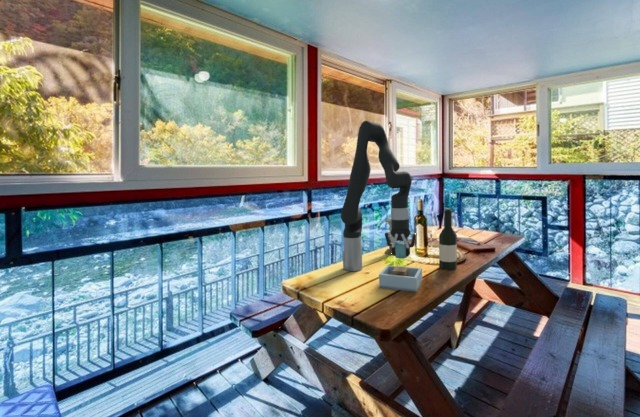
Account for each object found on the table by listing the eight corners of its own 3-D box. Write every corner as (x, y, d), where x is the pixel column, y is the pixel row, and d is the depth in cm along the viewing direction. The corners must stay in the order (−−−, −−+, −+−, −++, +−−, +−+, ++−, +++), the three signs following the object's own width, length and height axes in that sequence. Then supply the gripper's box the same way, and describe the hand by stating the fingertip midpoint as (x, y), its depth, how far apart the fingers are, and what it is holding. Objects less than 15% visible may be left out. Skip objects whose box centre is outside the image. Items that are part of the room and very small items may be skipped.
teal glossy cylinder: (394, 258, 148) (393, 244, 147) (396, 255, 152) (396, 242, 152) (405, 258, 146) (405, 245, 145) (407, 255, 150) (407, 242, 150)
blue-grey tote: (379, 287, 148) (379, 274, 147) (387, 277, 160) (387, 265, 160) (416, 292, 141) (416, 278, 140) (422, 281, 153) (422, 268, 153)
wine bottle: (458, 270, 165) (458, 209, 161) (440, 270, 167) (440, 210, 163) (455, 265, 173) (455, 207, 169) (438, 265, 175) (437, 207, 171)
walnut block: (392, 284, 149) (392, 270, 148) (396, 278, 155) (396, 266, 154) (405, 285, 146) (405, 272, 146) (408, 280, 153) (408, 267, 152)
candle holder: (388, 255, 197) (387, 221, 195) (382, 252, 206) (381, 219, 203) (402, 254, 199) (401, 220, 196) (396, 250, 207) (395, 218, 205)
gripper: (381, 219, 147) (382, 257, 149) (415, 219, 140) (416, 259, 143) (385, 216, 153) (387, 252, 156) (418, 216, 147) (419, 254, 149)
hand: (401, 255), depth 149 cm, fingers closed on teal glossy cylinder, 5 cm apart
